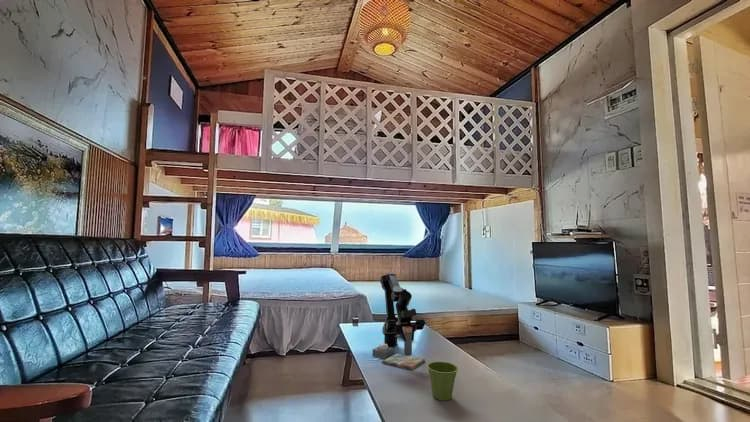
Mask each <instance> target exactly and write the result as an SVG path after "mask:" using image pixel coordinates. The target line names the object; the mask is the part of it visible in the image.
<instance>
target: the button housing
mask: <svg viewBox="0 0 750 422" xmlns="http://www.w3.org/2000/svg"><path fill="white" fill-rule="evenodd" d="M394 354H395V347H388V350H386V351H383V350H379V346H376V347H375V348H373V349H372V356H374V357H378V358H382V359H387V358H389V357H391V356H392V355H394Z"/></svg>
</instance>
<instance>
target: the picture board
mask: <svg viewBox="0 0 750 422" xmlns="http://www.w3.org/2000/svg"><path fill="white" fill-rule="evenodd" d="M425 362H426V359H424V358H420V357H415V356H412V355H411V356H406V355H404V354H402V353H394V354H393V355H391V356H390V357H388V358H384V359H383V360H382V361H381V364H383V363H384V365H388V366H393V367H397V368H401V369H404V370H405V369H406V370H409V371H413V370H415V369H416V368H418V367H419V366H421V365H422V364H424V363H425Z"/></svg>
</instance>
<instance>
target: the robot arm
mask: <svg viewBox="0 0 750 422" xmlns="http://www.w3.org/2000/svg"><path fill="white" fill-rule="evenodd" d="M379 278H380V279H379V281H380V282H379V283H380V284H381V288H382V290H383V291H384V297H385V298H384V299H385V312H386V318H385V320H384V322H383V326H382V331H381V332H382V334H383V336H384V337H383V339H384V342H383V344H388V347H391V348H395V347H396V346H398V345H399V343H398V337H399V336H400V337H399V338H401V339H402V341H403V343H404V342H405V336H404V332H403V327H407V326H408V327H412V342H414V338H415V332H416V331H422V330H423V329H424V328H425V325H426V320H425V319H423V318H416V319H415V321H413V318H414V317H416V316H417V310H416V308H411V309H409V308H408V306H409V305H410V302H411V299H412V294H411V292H410V291H408V290H407V289H406V288H405V289H404V288H403V287H401V286H400V283H399V281H398V279H397V275H396V273H386V274H385V275H381V276H380V277H379ZM394 303H395V304H394ZM395 310H396V313H395ZM395 315H398V317H397V318H396V316H395ZM398 320H399V322H398ZM397 335H399V336H397Z"/></svg>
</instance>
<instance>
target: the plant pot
mask: <svg viewBox="0 0 750 422" xmlns="http://www.w3.org/2000/svg"><path fill="white" fill-rule="evenodd" d="M426 367H427V369H428V373H429V378H430V385H431V392H432V393H431V394H432V397H433V398H434V399H437V400H439V401H445V402H446V401H449V400H450V399H452V397H453V392H454V388H455V387H454V385H455V382H456V381H455V379H456V376H457V373H458V372H459V367H458V366H457V365H455V364H454V363H451V362H447V361H432V362H429V363H427V365H426Z"/></svg>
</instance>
